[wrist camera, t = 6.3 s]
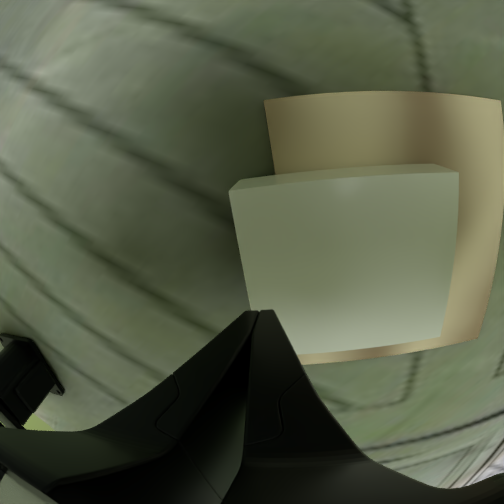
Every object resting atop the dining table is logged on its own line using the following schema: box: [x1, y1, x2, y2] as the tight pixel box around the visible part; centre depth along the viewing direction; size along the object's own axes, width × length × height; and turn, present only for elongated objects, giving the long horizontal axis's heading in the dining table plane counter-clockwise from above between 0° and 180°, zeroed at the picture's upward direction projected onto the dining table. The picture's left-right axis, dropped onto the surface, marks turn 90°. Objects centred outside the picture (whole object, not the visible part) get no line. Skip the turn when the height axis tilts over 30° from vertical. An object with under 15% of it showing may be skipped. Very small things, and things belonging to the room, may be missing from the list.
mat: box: [264, 91, 504, 365], centre depth 12 cm, size 11×13×1 cm
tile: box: [228, 164, 459, 355], centre depth 11 cm, size 2×7×8 cm
